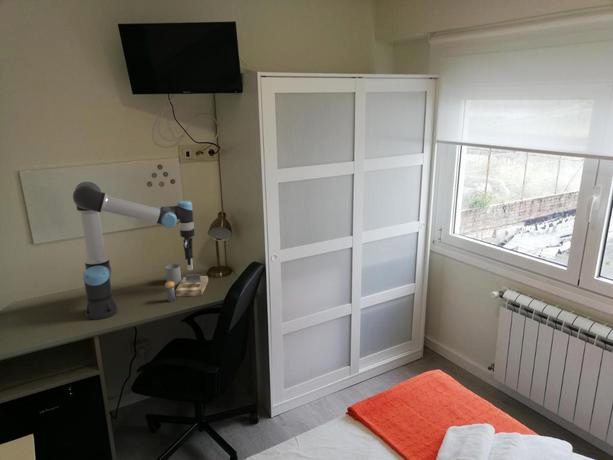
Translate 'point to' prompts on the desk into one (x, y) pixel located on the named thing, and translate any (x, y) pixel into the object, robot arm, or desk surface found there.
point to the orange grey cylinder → (170, 291)
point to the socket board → (191, 288)
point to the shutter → (193, 279)
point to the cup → (173, 273)
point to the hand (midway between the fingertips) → (190, 269)
